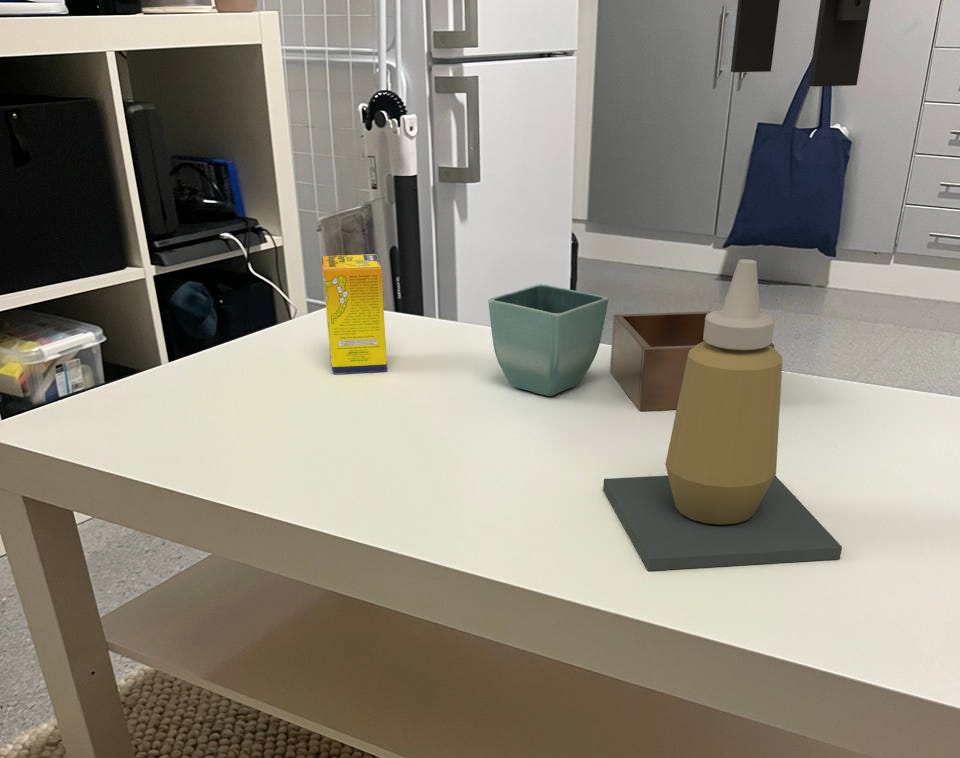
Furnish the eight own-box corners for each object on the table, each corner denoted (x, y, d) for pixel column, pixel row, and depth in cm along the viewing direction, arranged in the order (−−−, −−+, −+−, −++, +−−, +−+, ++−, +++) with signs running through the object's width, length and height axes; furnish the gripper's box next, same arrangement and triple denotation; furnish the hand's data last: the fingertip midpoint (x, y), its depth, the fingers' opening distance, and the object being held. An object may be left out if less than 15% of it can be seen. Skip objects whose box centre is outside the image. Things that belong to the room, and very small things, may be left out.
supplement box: (329, 358, 112) (320, 255, 107) (383, 355, 113) (377, 253, 107) (331, 375, 108) (322, 267, 102) (387, 372, 108) (382, 265, 102)
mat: (768, 481, 84) (770, 469, 83) (840, 559, 72) (842, 546, 71) (602, 489, 82) (603, 478, 82) (647, 571, 70) (649, 558, 70)
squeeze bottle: (647, 521, 75) (670, 268, 65) (676, 481, 81) (702, 244, 71) (756, 542, 72) (798, 280, 62) (779, 499, 78) (820, 254, 68)
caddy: (723, 366, 110) (730, 310, 106) (765, 405, 99) (774, 344, 96) (609, 371, 108) (613, 314, 105) (639, 411, 98) (645, 349, 95)
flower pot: (605, 385, 104) (611, 295, 100) (555, 407, 99) (559, 314, 94) (537, 368, 109) (539, 282, 104) (485, 389, 103) (485, 299, 99)
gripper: (706, -312, 65) (675, 68, 76) (890, -458, 44) (811, 94, 55) (817, -310, 66) (771, 66, 77) (1051, -452, 45) (940, 91, 56)
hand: (787, 78), depth 66 cm, fingers open, 13 cm apart
